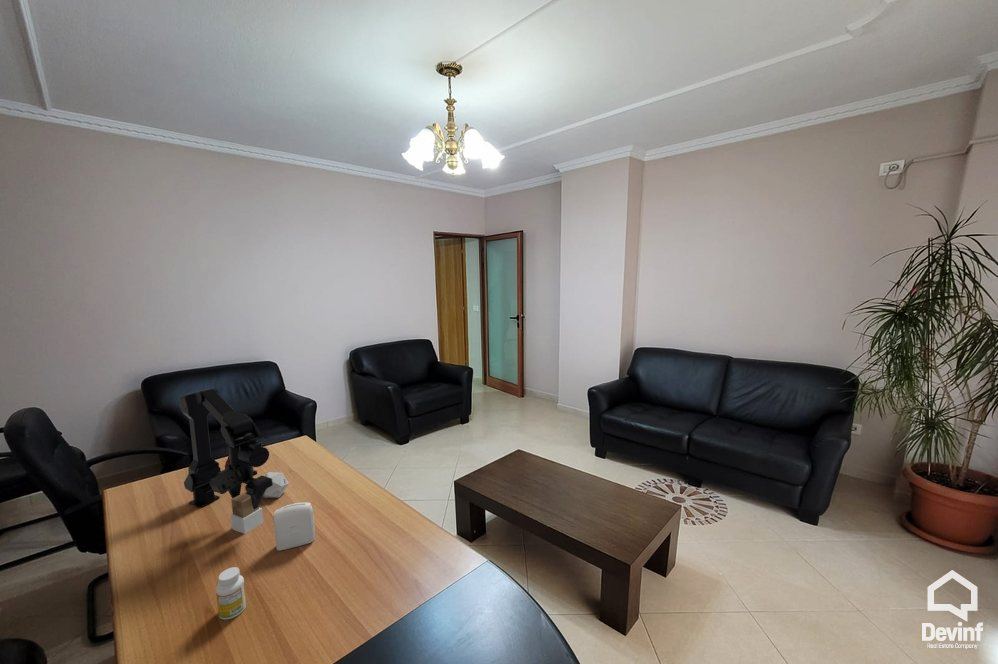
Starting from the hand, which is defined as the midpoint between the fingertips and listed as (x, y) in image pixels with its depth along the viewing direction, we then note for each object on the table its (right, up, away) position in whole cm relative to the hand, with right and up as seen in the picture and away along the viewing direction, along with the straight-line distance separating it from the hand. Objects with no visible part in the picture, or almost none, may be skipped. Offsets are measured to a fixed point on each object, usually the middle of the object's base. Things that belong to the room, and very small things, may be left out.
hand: (245, 505), depth 119 cm
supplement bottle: (+17, -12, -29) cm, 36 cm away
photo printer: (+19, -8, -7) cm, 22 cm away
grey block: (0, -7, +1) cm, 7 cm away
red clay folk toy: (-24, -3, +31) cm, 40 cm away
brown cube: (0, -2, 0) cm, 2 cm away
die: (-2, -5, +18) cm, 18 cm away
